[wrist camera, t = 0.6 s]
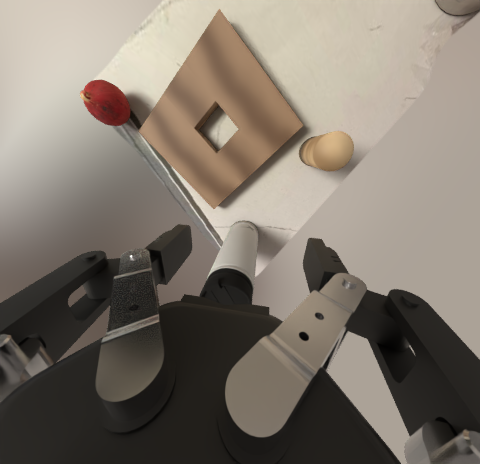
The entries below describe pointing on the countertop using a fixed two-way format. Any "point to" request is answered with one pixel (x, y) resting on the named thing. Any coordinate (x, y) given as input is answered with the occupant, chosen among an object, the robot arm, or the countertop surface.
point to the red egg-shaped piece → (106, 102)
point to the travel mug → (234, 267)
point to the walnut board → (234, 105)
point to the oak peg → (327, 151)
